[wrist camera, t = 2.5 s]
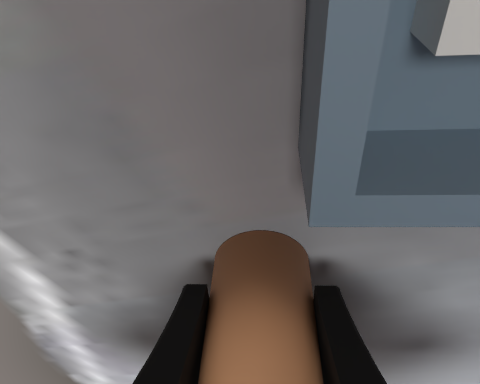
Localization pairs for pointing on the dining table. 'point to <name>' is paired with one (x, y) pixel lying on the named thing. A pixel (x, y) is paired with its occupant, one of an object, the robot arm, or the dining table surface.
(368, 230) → the dining table surface
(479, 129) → the tray box
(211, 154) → the dining table surface
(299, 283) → the peg
